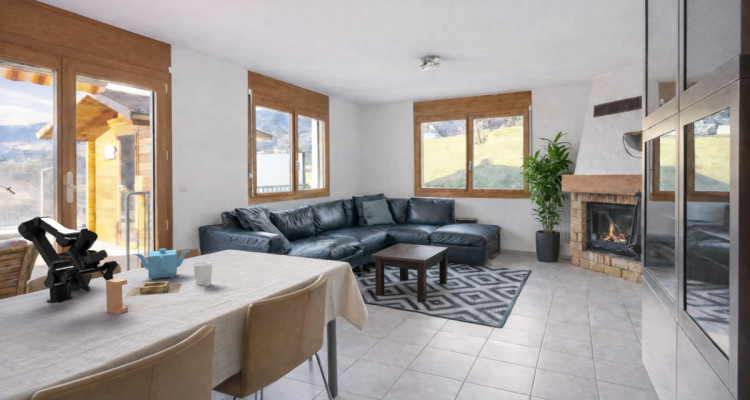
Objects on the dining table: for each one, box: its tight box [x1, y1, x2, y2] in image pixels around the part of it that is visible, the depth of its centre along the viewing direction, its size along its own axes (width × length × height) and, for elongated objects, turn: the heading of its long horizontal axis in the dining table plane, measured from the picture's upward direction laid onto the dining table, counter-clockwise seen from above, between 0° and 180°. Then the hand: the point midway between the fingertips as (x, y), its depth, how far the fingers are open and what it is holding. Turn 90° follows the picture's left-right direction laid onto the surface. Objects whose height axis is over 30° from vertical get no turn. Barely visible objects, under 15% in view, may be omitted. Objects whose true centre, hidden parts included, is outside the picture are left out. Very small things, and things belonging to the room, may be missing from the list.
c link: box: [105, 277, 129, 315], centre depth 152 cm, size 6×4×12 cm, turn 67°
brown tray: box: [125, 280, 183, 298], centre depth 177 cm, size 20×14×4 cm
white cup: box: [193, 261, 213, 288], centre depth 189 cm, size 8×8×10 cm
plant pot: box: [57, 249, 98, 291], centre depth 183 cm, size 15×15×16 cm
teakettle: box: [133, 248, 190, 280], centre depth 201 cm, size 19×19×15 cm
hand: (101, 288), depth 155 cm, fingers open, 9 cm apart
